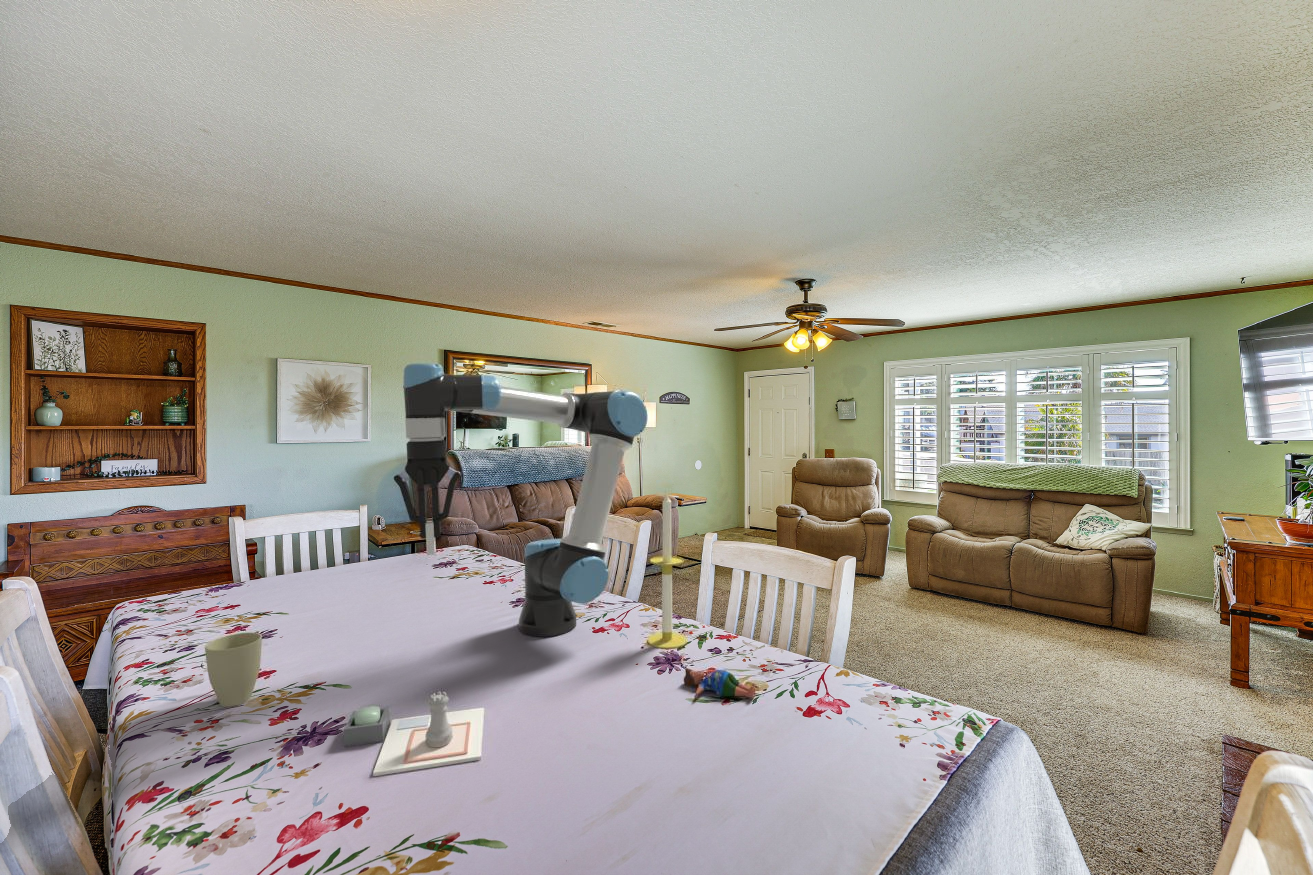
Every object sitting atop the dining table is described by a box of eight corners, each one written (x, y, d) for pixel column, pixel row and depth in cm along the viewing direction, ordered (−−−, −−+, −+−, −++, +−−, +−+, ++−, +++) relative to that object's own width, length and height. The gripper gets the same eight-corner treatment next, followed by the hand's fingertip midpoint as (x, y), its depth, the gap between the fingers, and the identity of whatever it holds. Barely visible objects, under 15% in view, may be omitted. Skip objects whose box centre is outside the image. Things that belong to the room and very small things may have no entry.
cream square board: (484, 710, 107) (484, 705, 107) (480, 759, 92) (480, 754, 92) (392, 722, 103) (392, 717, 103) (373, 776, 88) (373, 770, 88)
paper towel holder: (695, 640, 141) (695, 490, 140) (668, 652, 134) (668, 495, 132) (665, 629, 148) (665, 487, 146) (638, 641, 140) (638, 491, 139)
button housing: (389, 723, 103) (389, 706, 103) (382, 741, 97) (382, 724, 97) (353, 727, 101) (353, 711, 101) (344, 746, 96) (343, 729, 95)
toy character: (744, 691, 106) (671, 675, 112) (744, 715, 106) (671, 698, 112) (762, 665, 117) (695, 651, 124) (762, 687, 117) (695, 672, 124)
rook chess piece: (429, 734, 98) (428, 689, 97) (456, 733, 98) (455, 687, 98) (421, 749, 93) (420, 702, 93) (449, 748, 94) (448, 700, 93)
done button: (382, 723, 102) (382, 704, 102) (377, 735, 98) (377, 716, 98) (358, 727, 101) (357, 707, 100) (352, 739, 97) (351, 719, 97)
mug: (278, 691, 115) (277, 633, 114) (227, 715, 106) (226, 652, 105) (241, 683, 118) (239, 627, 118) (188, 706, 109) (186, 645, 109)
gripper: (460, 437, 121) (465, 546, 122) (394, 439, 117) (399, 551, 119) (458, 439, 114) (463, 554, 115) (388, 441, 110) (394, 560, 111)
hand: (431, 553), depth 117 cm, fingers closed
